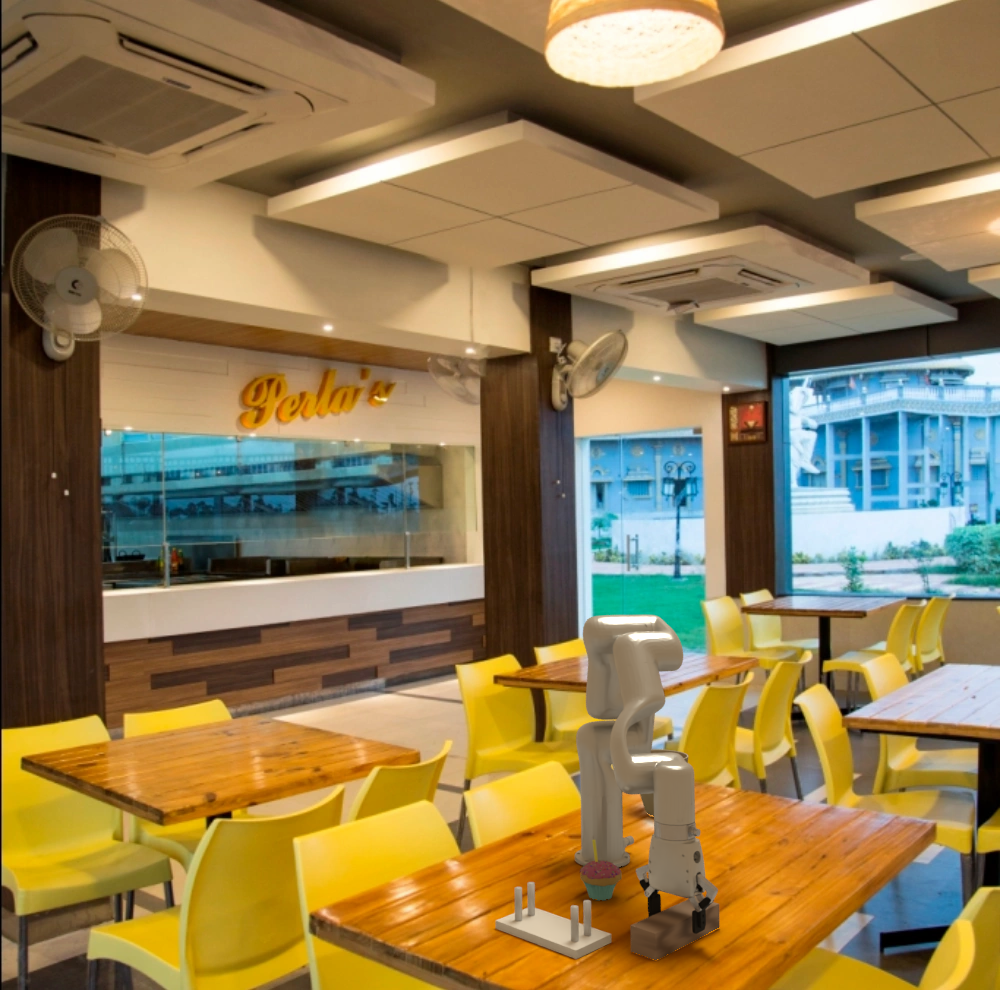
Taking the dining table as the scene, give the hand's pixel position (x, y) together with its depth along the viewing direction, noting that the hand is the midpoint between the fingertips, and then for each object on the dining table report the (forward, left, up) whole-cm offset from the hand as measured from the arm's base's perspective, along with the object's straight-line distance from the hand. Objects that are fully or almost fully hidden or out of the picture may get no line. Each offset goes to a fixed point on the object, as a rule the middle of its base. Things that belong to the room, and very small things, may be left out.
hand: (676, 924), depth 183 cm
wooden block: (0, 0, -3) cm, 3 cm away
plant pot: (-66, -50, -3) cm, 83 cm away
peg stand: (+14, -18, -3) cm, 23 cm away
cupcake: (-8, -24, -3) cm, 26 cm away
